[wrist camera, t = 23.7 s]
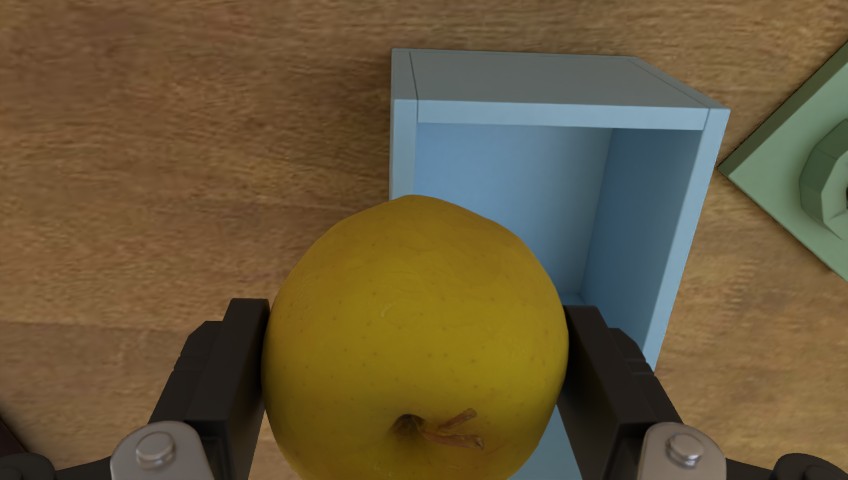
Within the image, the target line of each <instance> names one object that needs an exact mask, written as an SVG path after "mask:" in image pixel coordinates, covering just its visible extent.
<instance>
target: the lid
mask: <svg viewBox="0 0 848 480" xmlns="http://www.w3.org/2000/svg"><path fill="white" fill-rule="evenodd" d="M508 480H582V477H581V474H580V471H579V468H578V465H577V462H576V460H575V457H574V454H573V451H572V448H571V445H570V442H569V439H568V436H567V434H566V431H565V428H564V425H563V422H562V419H561V416H560V413H559V410H558V408H557V406H555V408H554V411H553V414H552V416H551V418H550V421H549V423H548V425H547V428H546V430H545V432H544V434H543V436H542V438H541V440H540V442H539V445H538V447H537V448H536V449H535V451H534V452H533V453H532V455H531V456H530V458H529V459H528V460H527V461H526V463H525V464H524V465H523V466H522V467H521V468H520V469H519V470H518V471H517V472H516V473H515V474H514V475H512V476H511V477H510V478H509V479H508Z"/></svg>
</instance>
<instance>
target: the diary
mask: <svg viewBox="0 0 848 480" xmlns="http://www.w3.org/2000/svg"><path fill="white" fill-rule="evenodd" d="M17 453H26V451H25V450H24V449H23V448H22V446H21V445H20V444H19V443H18V442H17V440H16V439H15V438H14V437H13V435H12V434H11V433H10V432H9V430H8V429H7V428H6V427H5V426H4V424H3V423H2V422H1V421H0V458H1V457H4V456H7V455H12V454H17Z"/></svg>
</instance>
